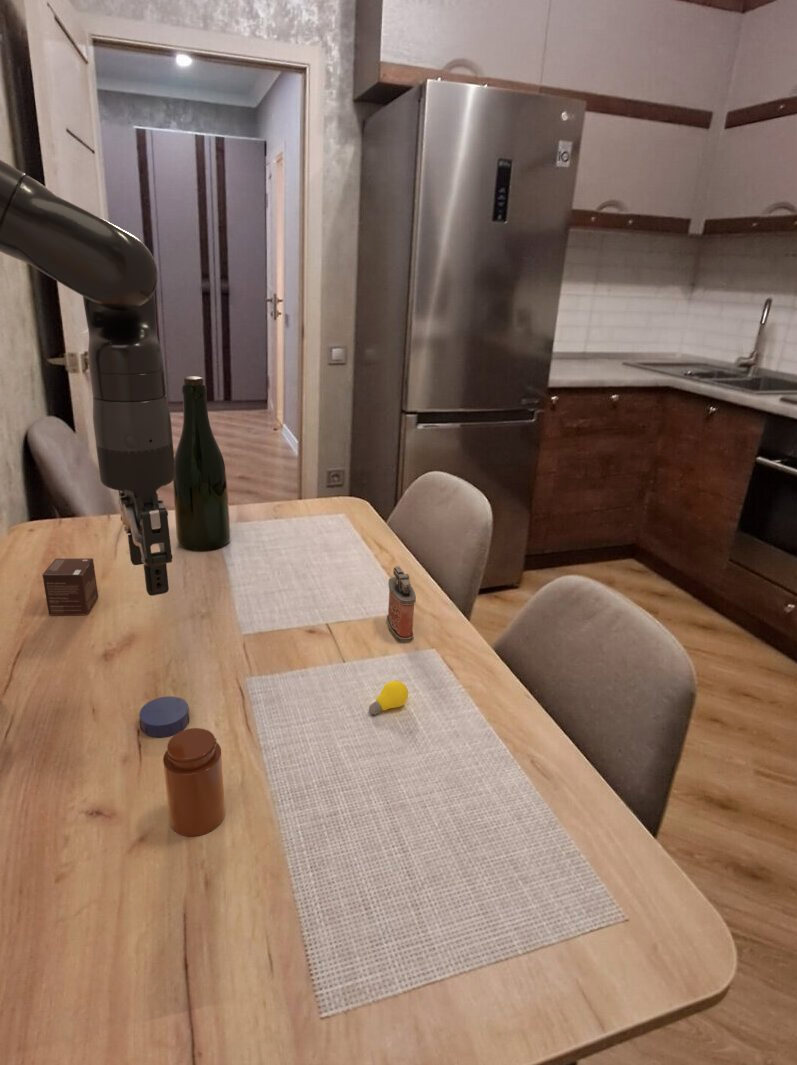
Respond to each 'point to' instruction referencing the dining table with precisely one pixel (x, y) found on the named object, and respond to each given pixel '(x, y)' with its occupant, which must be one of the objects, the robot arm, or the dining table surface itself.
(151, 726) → the jam lid
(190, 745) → the jam jar
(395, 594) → the lighter
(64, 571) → the box
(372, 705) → the light bulb
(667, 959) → the dining table surface
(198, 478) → the dark green wine bottle
